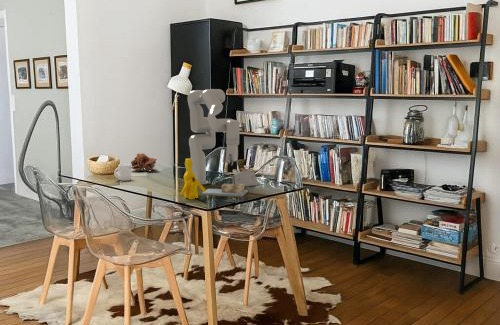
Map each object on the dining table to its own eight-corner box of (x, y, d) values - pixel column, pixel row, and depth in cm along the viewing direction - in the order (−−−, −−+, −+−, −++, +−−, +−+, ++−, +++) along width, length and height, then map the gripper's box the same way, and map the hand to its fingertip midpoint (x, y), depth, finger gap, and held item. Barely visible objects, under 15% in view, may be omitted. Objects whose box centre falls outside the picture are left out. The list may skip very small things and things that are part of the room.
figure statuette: (182, 201, 281) (181, 161, 279) (174, 199, 287) (173, 159, 284) (208, 197, 293) (207, 158, 290) (199, 195, 299) (199, 157, 296)
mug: (117, 182, 343) (117, 166, 342) (111, 180, 349) (110, 165, 348) (133, 179, 351) (133, 164, 350) (127, 178, 357) (126, 163, 356)
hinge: (237, 187, 324) (234, 171, 325) (233, 188, 328) (230, 173, 329) (259, 184, 333) (256, 169, 335) (255, 186, 337) (252, 171, 338)
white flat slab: (202, 194, 300) (201, 192, 300) (208, 190, 312) (208, 188, 312) (242, 196, 295) (242, 194, 294) (247, 192, 307) (247, 190, 307)
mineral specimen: (132, 174, 401) (128, 155, 400) (157, 169, 406) (153, 150, 405) (132, 175, 380) (128, 155, 379) (159, 169, 384) (155, 149, 384)
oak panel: (221, 192, 301) (221, 185, 300) (224, 190, 307) (224, 183, 306) (241, 193, 298) (241, 186, 298) (244, 191, 304) (244, 184, 303)
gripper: (230, 139, 308) (229, 168, 310) (222, 143, 291) (221, 173, 294) (242, 140, 306) (242, 168, 309) (235, 143, 289) (234, 174, 292)
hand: (232, 170), depth 301 cm, fingers open, 9 cm apart
